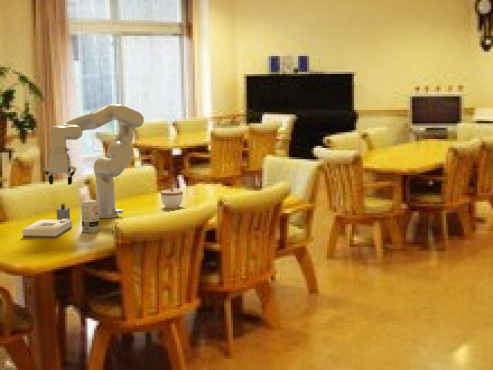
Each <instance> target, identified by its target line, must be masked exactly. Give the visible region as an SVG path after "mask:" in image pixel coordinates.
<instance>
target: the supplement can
mask: <svg viewBox="0 0 493 370" xmlns="http://www.w3.org/2000/svg"><path fill="white" fill-rule="evenodd" d="M80 209H81V211H80V213H81V214H80V216H81V230H82V232H83V233H86V234H94V233H97V232H99V230H100V218H99V208H98V202H97V199H85V200H82V201H81V204H80Z"/></svg>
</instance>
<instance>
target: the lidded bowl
mask: <svg viewBox="0 0 493 370" xmlns="http://www.w3.org/2000/svg"><path fill="white" fill-rule="evenodd" d="M183 195H184V191H183V190H181V189H174V188H173V187H170V189H164V190H161V191H160V197H161V198H160V199H161V203H162V204H163V206H164V207H165V208H166V207H167V208H166V209H178V208H179V206H181V205H182V202H183V199H184V196H183Z"/></svg>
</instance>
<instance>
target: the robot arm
mask: <svg viewBox="0 0 493 370" xmlns="http://www.w3.org/2000/svg"><path fill="white" fill-rule="evenodd" d="M112 121H117V122H118V128H119V129H118V133H117V135H116V136H115V137H114V139H113V140H112V141H111V143H110V144H109V146H107V147H108V148H107V149H106V154H107V157H104V156H103V157H99V158H97V159H96V160H95V161H94V163H93V172H94V176H95V186H96V187H95V188H96V189H95V191H96V200H97V202H98V208H99V219H113V218H116V217H118V216H119V214H123V213H124V210H123V209H118V208H117V206H116V195H115V194H116V192H115V190H116V189H115V181H114V180H115V179H114V178H116V177H119V176H120V175H122V173H123V172H124V170H125V169H126V168H127V167H128V165H129V163H130V162H131V161H132V159H133V157H134V154H135V153H134V152H135V151H134V147H133V146H132V142H133V140H134V136H135V133H134V129H135V128H136V129H138V128H140V127H142V126H143V125H144V123H145V118H144V116H143V114H142V113H141V112H140V111H137V110H135V109H133V108H130V107H128V106H125V105H123V104H120V103H118V104H115V103H108V104H107V105H104V106H101V107H100V108H99V109H96V110H94V111H92V112H90V113H88V114H87V113H86V114H84V115H81V116H78V117H76V118H72V119H70V120H69V121H66V122H64V123H63V124H61V125H53V126H51V127H50V132H49V133H50V135H49V136H50V151H51V152H50V154H49V159H48V160H49V161H48V162H49V163H48V165H46V166H44V167H42V169H43V172H44V174H46V175H47V177H48V184H49V185H54V176H53V174H66V175H67V185H72V184H73V176H74V175H75V174H76V171H77V167H76V166H74V165H72V164H71V159H70V153H69V151H70V148H68V147H67V140H69V141H70V140H71V141H77V140H79V139H80V138H81V137H83V131H88V130H89V131H90V130H96V129H99V128H101V127H102V126H105V125H106V124H108V123H110V122H112Z"/></svg>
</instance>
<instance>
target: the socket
mask: <svg viewBox="0 0 493 370" xmlns="http://www.w3.org/2000/svg"><path fill="white" fill-rule="evenodd" d="M72 221H73V220H72V219H70V220H69V219H62V220H57V219H39V220H37V221H35V222H33V223H31V224H29V225H27V226H26V227H23V228H22V230H21V231H22V238H27V239H29V238H30V239H31V238H33V239H35V238H36V239H57V238H58V237H60V236H61V235H63V234H65V233H66V232H67V231H69V230H71V229H73V228H72V227H73V226H72V225H73V224H72V223H73V222H72Z"/></svg>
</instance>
